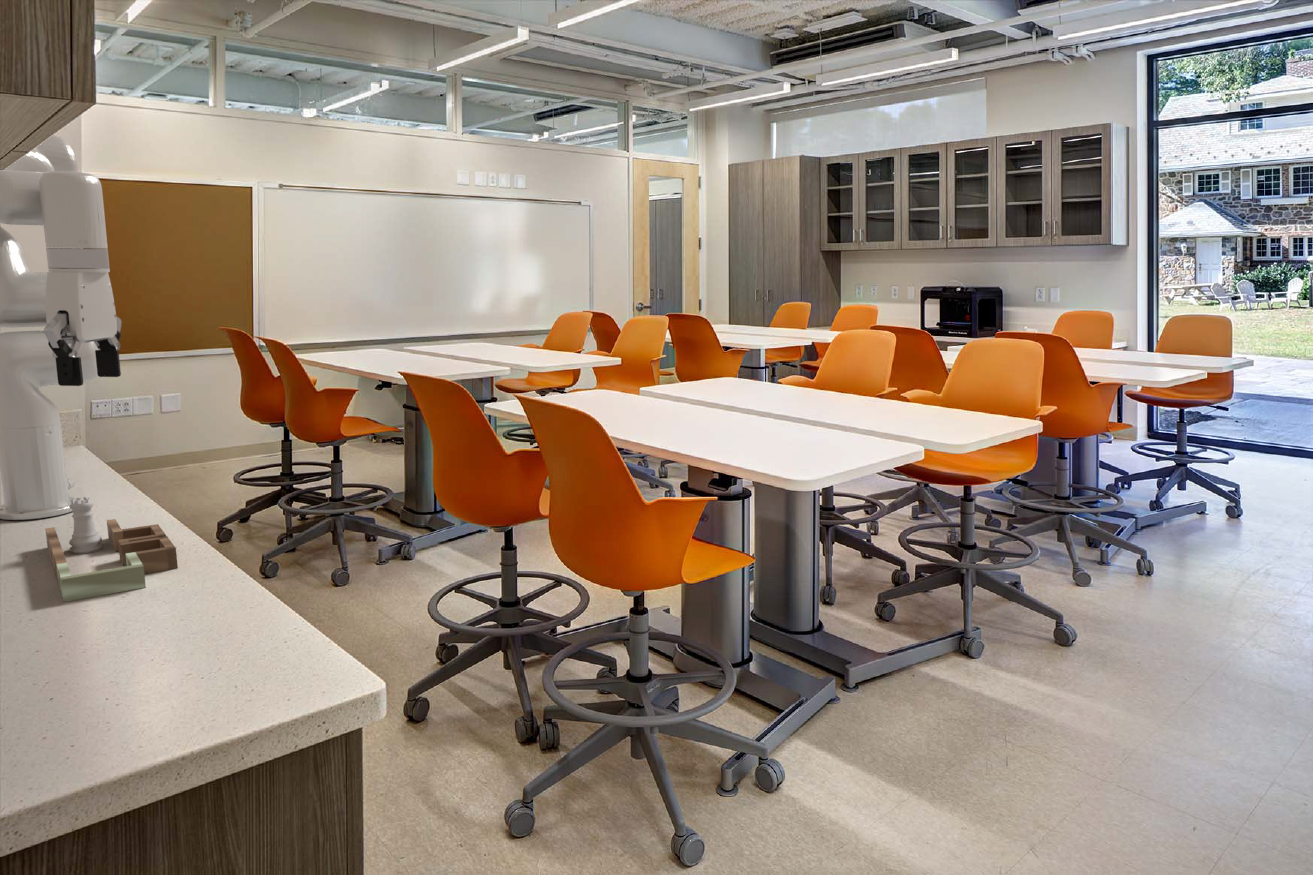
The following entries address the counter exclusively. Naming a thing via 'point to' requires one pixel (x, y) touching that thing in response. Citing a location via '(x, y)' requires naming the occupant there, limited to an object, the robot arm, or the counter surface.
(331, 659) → the counter surface
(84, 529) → the rook chess piece
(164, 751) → the counter surface
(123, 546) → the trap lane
